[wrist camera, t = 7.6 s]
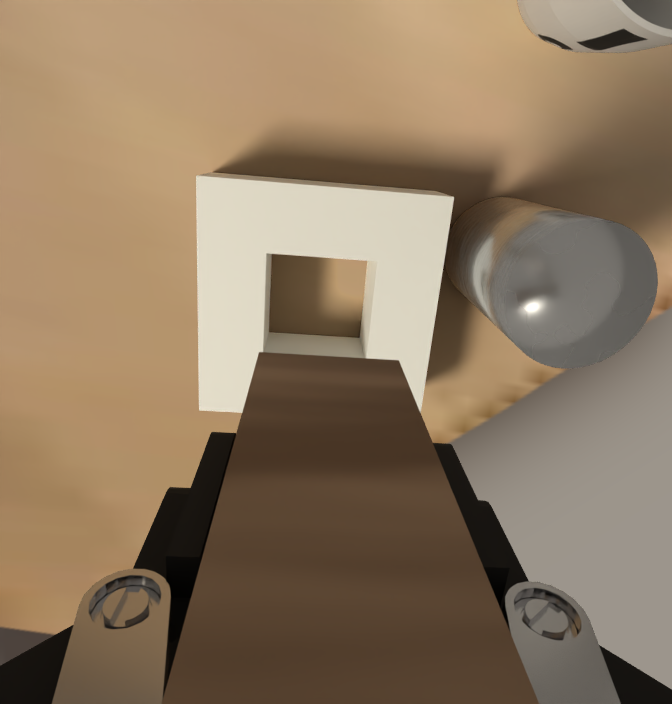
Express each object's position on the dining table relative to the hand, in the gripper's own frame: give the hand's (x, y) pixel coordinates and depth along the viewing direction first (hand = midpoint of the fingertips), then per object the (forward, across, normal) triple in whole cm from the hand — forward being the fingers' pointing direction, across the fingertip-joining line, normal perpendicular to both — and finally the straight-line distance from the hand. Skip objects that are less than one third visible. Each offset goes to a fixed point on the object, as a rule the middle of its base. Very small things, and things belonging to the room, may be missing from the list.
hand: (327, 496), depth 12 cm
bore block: (+19, 0, 0) cm, 19 cm away
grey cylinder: (+19, -10, -3) cm, 22 cm away
